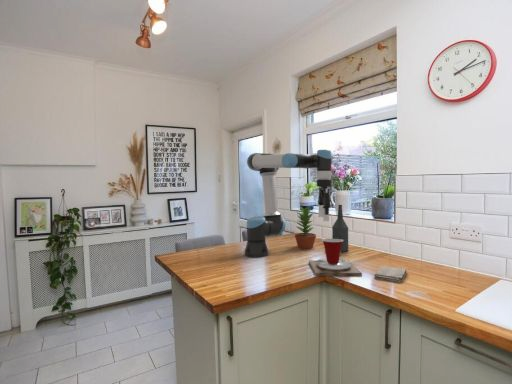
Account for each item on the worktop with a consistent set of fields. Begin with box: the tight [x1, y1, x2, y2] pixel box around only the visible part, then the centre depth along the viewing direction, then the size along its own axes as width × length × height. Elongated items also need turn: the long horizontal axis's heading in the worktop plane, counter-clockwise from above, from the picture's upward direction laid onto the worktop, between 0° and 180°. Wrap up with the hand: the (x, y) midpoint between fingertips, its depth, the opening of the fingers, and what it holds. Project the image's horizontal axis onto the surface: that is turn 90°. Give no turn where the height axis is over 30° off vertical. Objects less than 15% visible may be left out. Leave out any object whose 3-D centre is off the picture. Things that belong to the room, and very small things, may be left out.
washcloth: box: [373, 265, 407, 284], centre depth 138 cm, size 12×18×3 cm, turn 146°
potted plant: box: [294, 204, 317, 250], centre depth 198 cm, size 15×15×30 cm
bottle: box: [331, 204, 349, 253], centre depth 189 cm, size 10×10×30 cm
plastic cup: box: [321, 238, 343, 264], centre depth 150 cm, size 11×11×12 cm
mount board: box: [308, 257, 363, 277], centre depth 149 cm, size 22×22×4 cm
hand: (323, 218), depth 154 cm, fingers open, 13 cm apart
